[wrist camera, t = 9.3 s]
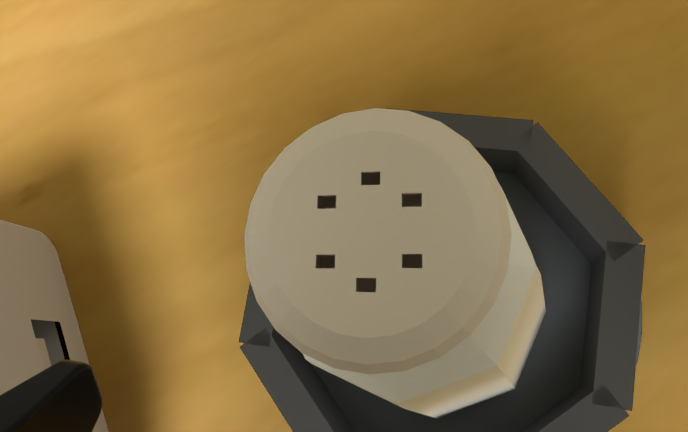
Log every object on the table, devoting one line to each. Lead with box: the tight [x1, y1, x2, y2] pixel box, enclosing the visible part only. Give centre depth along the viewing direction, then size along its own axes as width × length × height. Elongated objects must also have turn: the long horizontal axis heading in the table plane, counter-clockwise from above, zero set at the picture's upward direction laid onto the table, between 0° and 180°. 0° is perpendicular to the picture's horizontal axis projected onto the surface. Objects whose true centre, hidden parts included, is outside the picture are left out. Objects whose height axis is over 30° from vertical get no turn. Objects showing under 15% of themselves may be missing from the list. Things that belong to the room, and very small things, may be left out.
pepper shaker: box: [244, 108, 546, 418], centre depth 12 cm, size 5×5×11 cm
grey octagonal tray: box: [239, 108, 645, 432], centre depth 17 cm, size 10×10×3 cm
